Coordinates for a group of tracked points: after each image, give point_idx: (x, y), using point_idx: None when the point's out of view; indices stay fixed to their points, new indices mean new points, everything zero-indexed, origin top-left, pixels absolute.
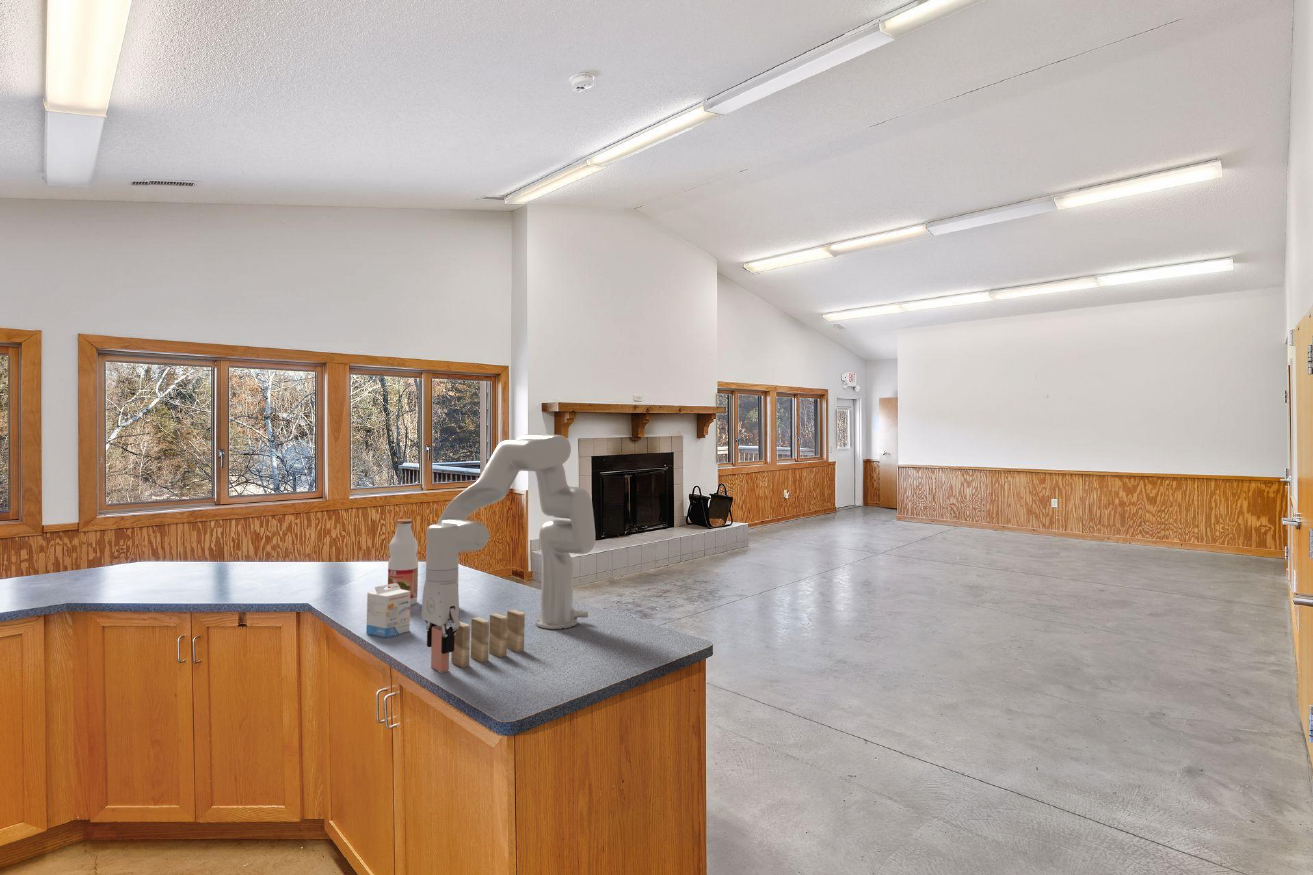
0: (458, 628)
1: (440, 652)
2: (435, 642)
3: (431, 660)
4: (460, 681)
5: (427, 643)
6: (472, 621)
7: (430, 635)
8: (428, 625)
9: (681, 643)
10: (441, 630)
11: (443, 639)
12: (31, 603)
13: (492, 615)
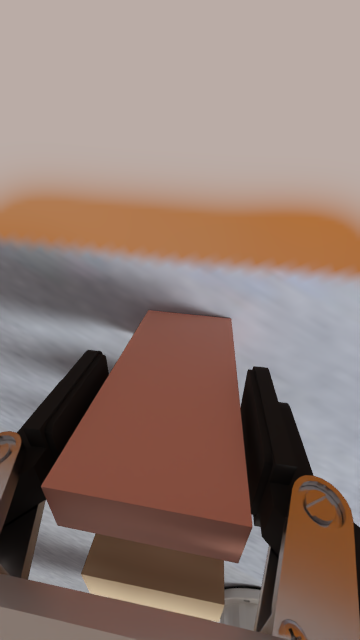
0: (143, 552)
1: (130, 358)
2: (184, 397)
3: (230, 333)
4: (27, 305)
5: (263, 379)
6: (200, 618)
7: (256, 435)
8: (306, 537)
9: (37, 580)
10: (71, 495)
11: (36, 416)
12: None
13: None
